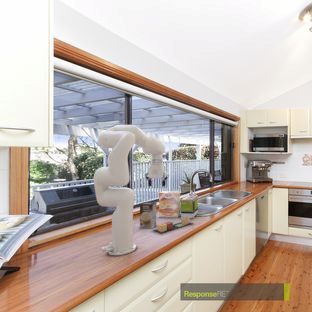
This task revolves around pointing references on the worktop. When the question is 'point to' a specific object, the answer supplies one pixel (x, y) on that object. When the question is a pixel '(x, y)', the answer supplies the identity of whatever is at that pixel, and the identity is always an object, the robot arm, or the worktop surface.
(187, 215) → the tea box
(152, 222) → the coffee box
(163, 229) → the word mat
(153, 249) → the worktop surface
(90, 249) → the worktop surface
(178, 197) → the coffeecake box
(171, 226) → the letter S
